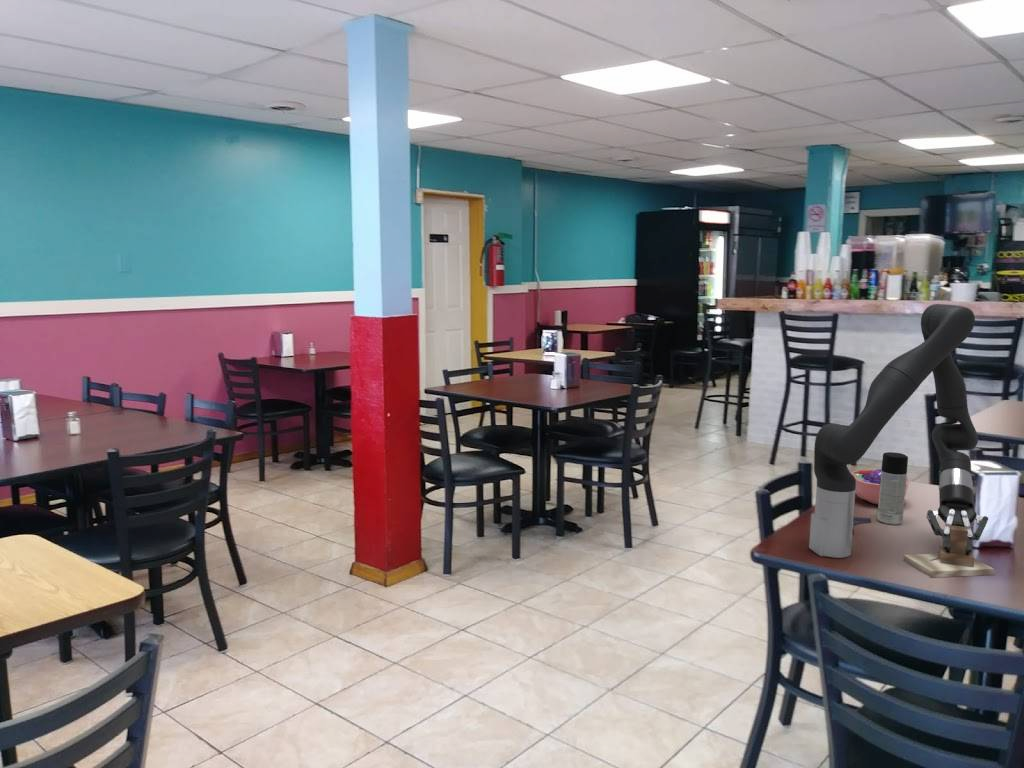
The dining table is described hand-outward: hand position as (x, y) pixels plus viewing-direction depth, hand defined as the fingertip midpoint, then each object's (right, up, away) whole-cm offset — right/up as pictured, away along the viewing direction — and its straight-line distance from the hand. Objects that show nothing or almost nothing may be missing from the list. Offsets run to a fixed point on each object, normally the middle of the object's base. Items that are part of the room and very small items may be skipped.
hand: (957, 551), depth 190 cm
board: (-1, -4, +2) cm, 5 cm away
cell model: (+7, +3, +57) cm, 58 cm away
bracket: (-13, -1, +33) cm, 35 cm away
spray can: (+2, 0, +38) cm, 38 cm away
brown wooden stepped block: (+1, -3, +2) cm, 4 cm away
